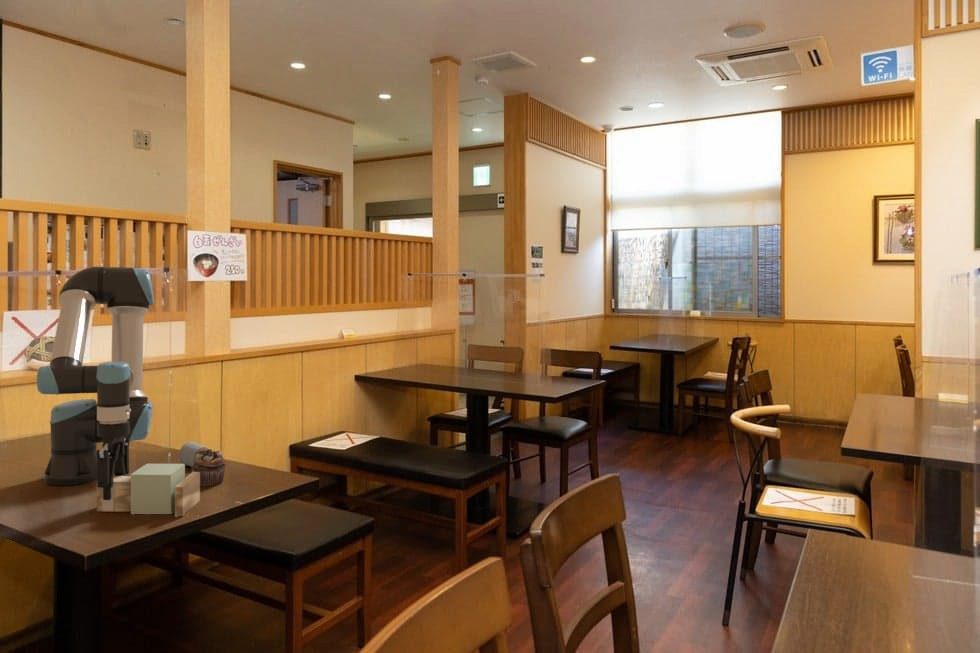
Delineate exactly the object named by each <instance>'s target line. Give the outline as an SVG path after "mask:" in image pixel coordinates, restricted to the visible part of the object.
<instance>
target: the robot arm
mask: <svg viewBox="0 0 980 653" xmlns="http://www.w3.org/2000/svg"><path fill="white" fill-rule="evenodd" d="M58 304H59V306H60V310H59V316H58V319H57V326H56V329H55V330H56V331H55V336H54V341H53V345H52V350H51V355H50V361H49V365H44V366H40V367H39V368H38V370H37V373H36V387H37V391H38V392H39V393H40V394H41V395H56V396H58V395H59V396H60V395H69V394H72V395H73V394H96V399H97V400H96V399H94V398H83V399H82V398H81V399H75V400H69V401H65V402H62V403H60V404H59V403H58V404H57V405H54V406H53V407H52V409H51V410H50V420H49V424H50V457H49V460H48V463H47V465H46V469H45V471H44V474H43V477H44V478H43V482H44V483H45V484H47V485H49V486H60V487H61V486H75V485H83V484H88V483H91V482H95V481H96V487H97V486H98V487H102V489H103V511H102V512H116V511H115V486H113V479H114V476H130V475H129V474H130V442H134V441H141V440H142V441H143V440H145V439H146V438H147V437H148V435H149V431H150V428H151V423H152V416H153V408H154V404H153V402H151V401H148V400H149V396H148V395H147V394H146V393H145V392H144V391H143V382H144V380H143V375H144V373H143V372H144V371H143V369H144V368H143V367H144V365H143V364H144V316H145V315H146V314H147V313H148V312H149V311H150V306H154V304H155V301H154V292H153V285H152V278H151V273H150V272H149V270H147V269H146V268H138V267H133V266H132V267H125V266H124V267H120V266H118V267H117V266H116V267H115V266H91V267H90V266H89V267H86V268H84V269H81V270H79V271H77V272H76V273H75V274H73V275H72V276H70V277H69V278H68V279H67V280H66V282H65V283H64V284H63V285H62V287H61V289H60V291H59V294H58ZM96 305H106V310H107V312H108V313H110V314H111V318H112V320H111V324H112V325H111V361H106V362H101V363H99V364H98V365H83V363H84V357H85V355H84V354H85V351H86V345H87V344H86V342H87V337H88V331H89V323H90V317H91V311H93V309H94V308H96ZM97 443H98V444H100V443H101V444H102V447H101V449H98V448H97Z"/></svg>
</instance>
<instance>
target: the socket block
mask: <svg viewBox="0 0 980 653" xmlns="http://www.w3.org/2000/svg"><path fill="white" fill-rule="evenodd" d="M130 476H131V512H130V515H131V514H133V516H135V515H134V514H171V513H172V512H173V513H175V512H174V511H175V486H177V485H178V484H179V483H180V482H181V481H182V480H184V479H185V478H186V465H185V464H182V463H146V464H144V465H143V466H141V467H140V468H138V469H137V470H135V471H134V472H132V473H131V474H130ZM173 513H172V514H173ZM172 514H171V515H172Z"/></svg>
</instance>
